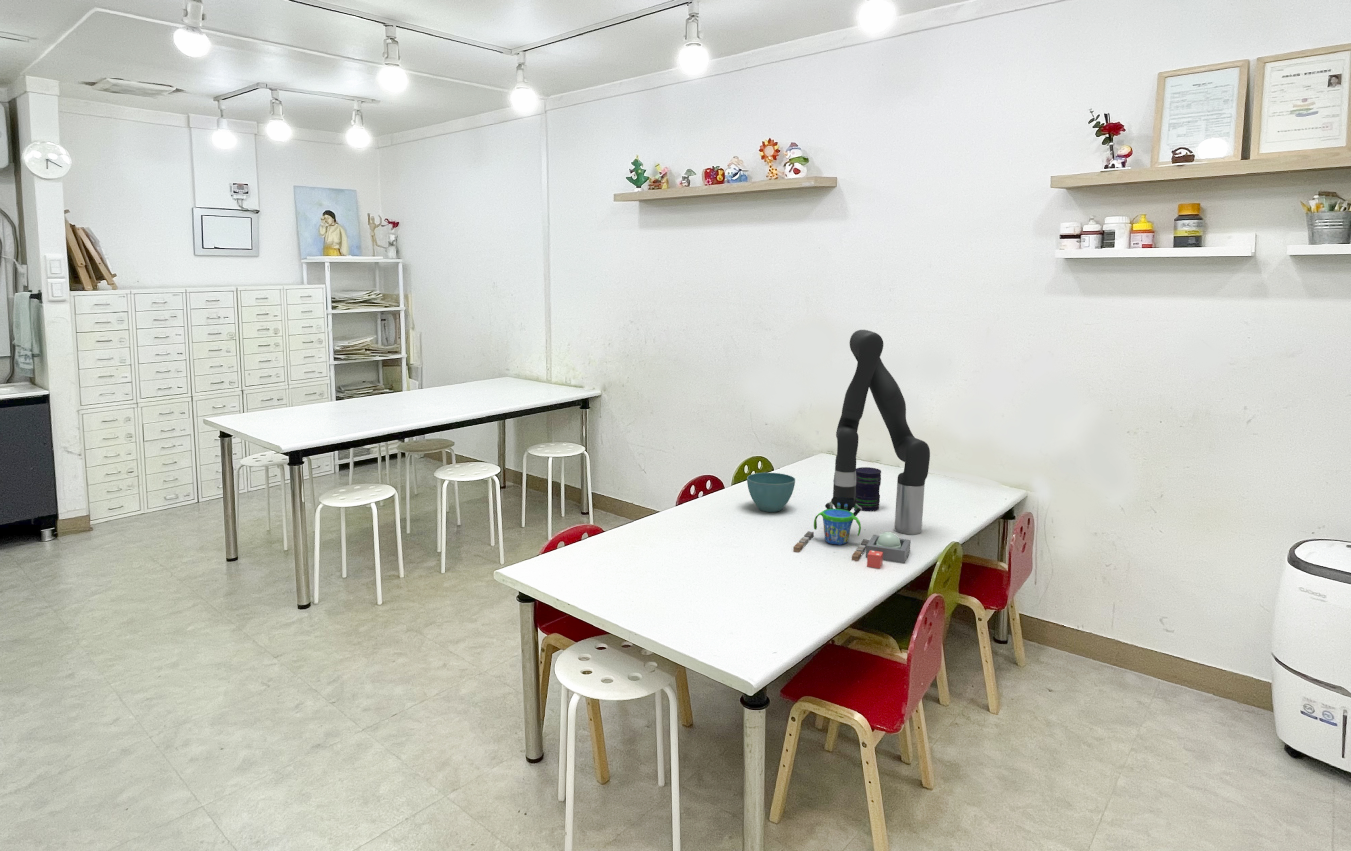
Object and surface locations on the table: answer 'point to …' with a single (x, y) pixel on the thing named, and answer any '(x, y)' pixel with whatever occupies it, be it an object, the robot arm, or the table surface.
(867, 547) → the frame
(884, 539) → the dome
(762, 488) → the teal bowl
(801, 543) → the track markers
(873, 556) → the red die
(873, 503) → the storage jar
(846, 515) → the snack cup
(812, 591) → the table surface
